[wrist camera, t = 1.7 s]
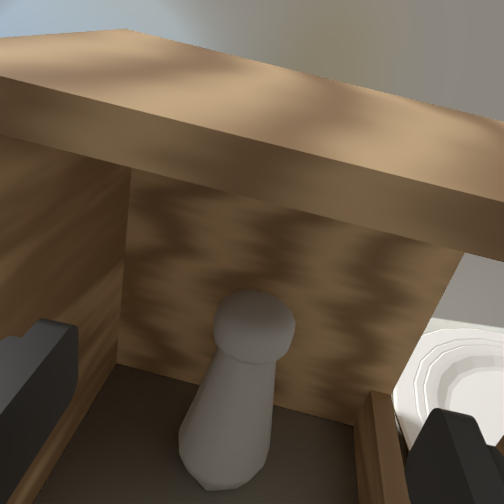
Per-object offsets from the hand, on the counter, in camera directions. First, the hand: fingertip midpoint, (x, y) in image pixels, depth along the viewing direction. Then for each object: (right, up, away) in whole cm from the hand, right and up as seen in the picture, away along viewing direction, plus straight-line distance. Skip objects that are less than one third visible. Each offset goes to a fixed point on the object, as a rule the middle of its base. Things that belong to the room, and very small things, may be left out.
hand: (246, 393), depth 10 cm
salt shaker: (-2, -11, +19) cm, 22 cm away
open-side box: (-2, -11, +19) cm, 22 cm away
